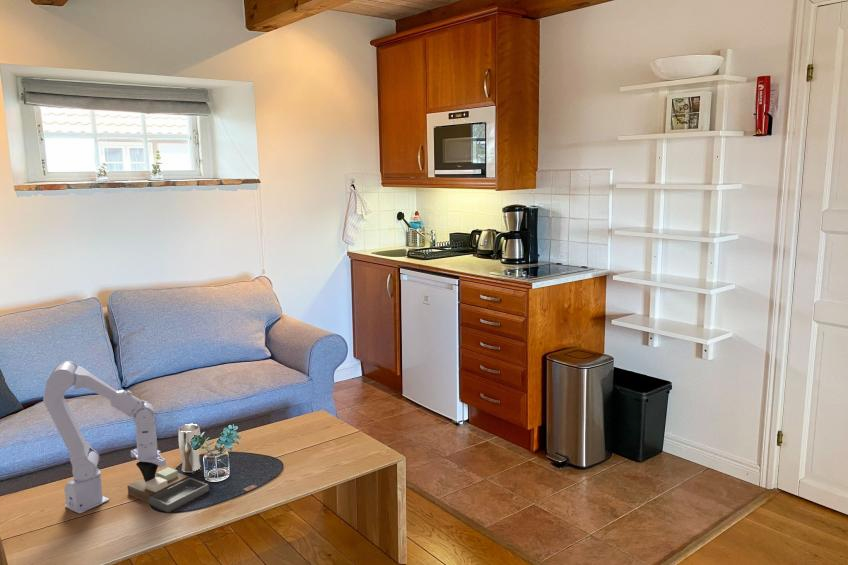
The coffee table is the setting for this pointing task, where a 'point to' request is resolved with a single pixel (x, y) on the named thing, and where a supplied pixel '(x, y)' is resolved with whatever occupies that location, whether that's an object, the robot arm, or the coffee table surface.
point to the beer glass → (189, 447)
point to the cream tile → (156, 484)
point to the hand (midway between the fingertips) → (149, 482)
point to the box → (178, 495)
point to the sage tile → (167, 473)
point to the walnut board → (142, 493)
